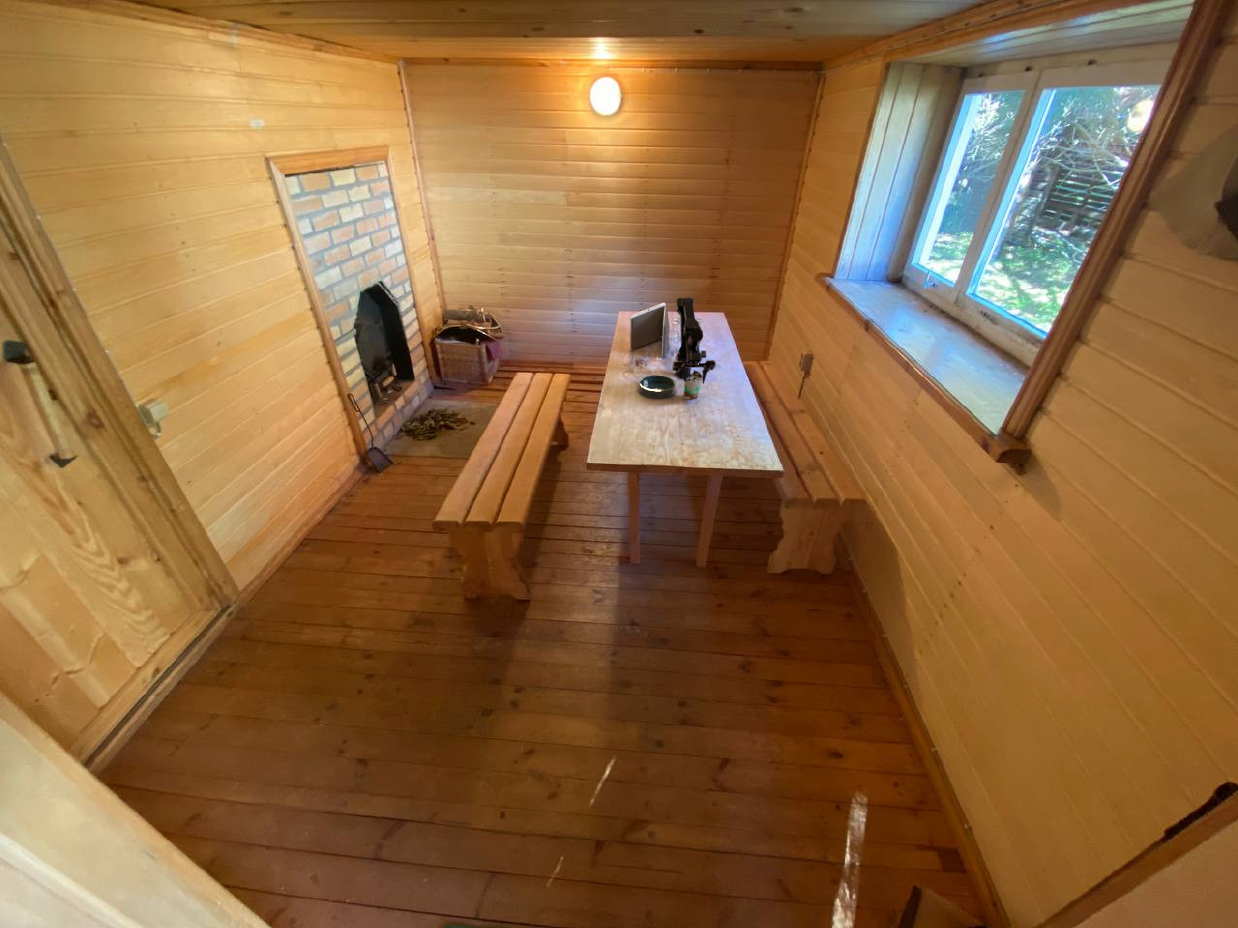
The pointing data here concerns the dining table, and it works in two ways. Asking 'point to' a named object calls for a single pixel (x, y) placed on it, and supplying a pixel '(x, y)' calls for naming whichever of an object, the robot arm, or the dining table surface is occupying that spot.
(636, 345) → the silver laptop
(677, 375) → the robot arm
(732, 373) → the dining table surface
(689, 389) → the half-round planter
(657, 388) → the bowl
